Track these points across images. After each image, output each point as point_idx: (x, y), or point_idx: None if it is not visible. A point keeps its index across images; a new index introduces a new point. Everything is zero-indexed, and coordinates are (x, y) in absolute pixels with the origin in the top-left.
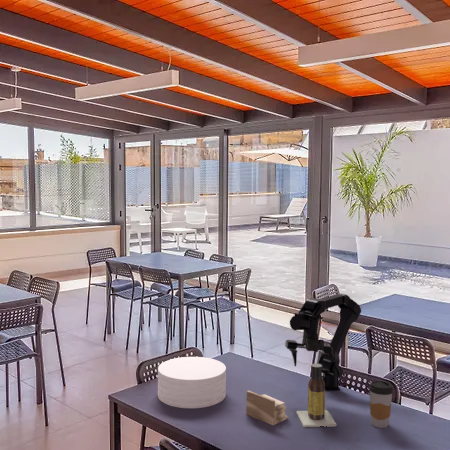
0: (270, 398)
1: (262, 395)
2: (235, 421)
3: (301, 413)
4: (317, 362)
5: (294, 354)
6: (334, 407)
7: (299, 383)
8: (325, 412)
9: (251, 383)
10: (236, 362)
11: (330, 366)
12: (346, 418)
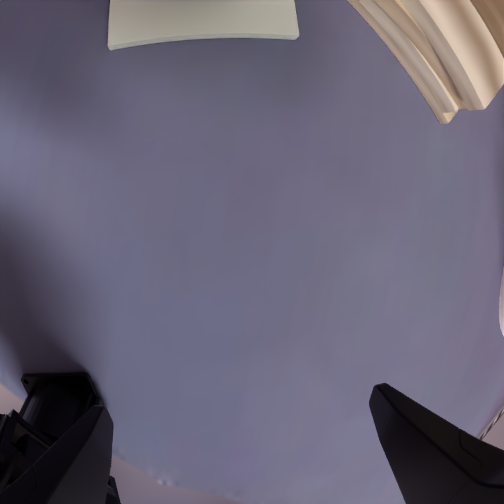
0: (461, 46)
1: (488, 94)
2: None
3: (275, 5)
4: (97, 481)
5: (496, 464)
6: (51, 126)
7: (221, 433)
8: (128, 16)
9: (419, 381)
10: (393, 492)
11: (13, 461)
12: (39, 5)
